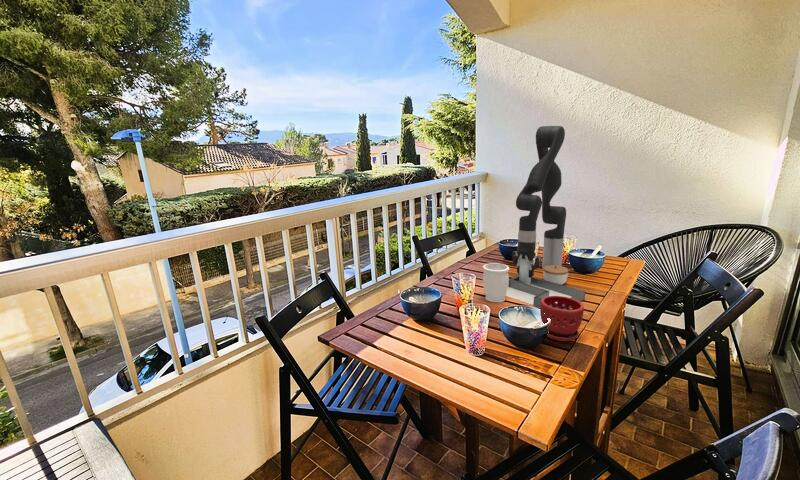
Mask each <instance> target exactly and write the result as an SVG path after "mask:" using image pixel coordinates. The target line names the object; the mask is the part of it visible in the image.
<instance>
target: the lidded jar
mask: <svg viewBox="0 0 800 480" xmlns="http://www.w3.org/2000/svg"><path fill="white" fill-rule="evenodd" d="M542 275H543V280H546V281H550V282H554V283H557V284H561V285H564V284H565V283H566V281H567V280H568V276H569V268H568V267H565V266H558V265H548V266H544V267H543V268H542Z"/></svg>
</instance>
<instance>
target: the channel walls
mask: <svg viewBox="0 0 800 480" xmlns="http://www.w3.org/2000/svg"><path fill="white" fill-rule="evenodd" d="M531 284H532V285H535V286H538V287H542V288H545V289H549V290H552V291H555V292H559V293H562V294H565V295H569V296H572V297H571V298H572V299H575V300H577V301H579V302H581V303H582V302H583V301H584V300H586V299H585V298H586V291H585V290H583V289H579V288H576V287H571V286H568V285H564V284H562V285H561V284H557V283H554V282H550V281H546V280H544V278H543V279H542V278H538V277H536V276H533V277H531ZM508 287H510V288H514V289H517V290H520V291H523V292H526V293H529V294H532V295H535V297H534V303H533V305H532V306H534V305H535V307H537V306H538V308H540V307H541V300H542V299H543V298H544V297H547V296H549V291H548V290H544V289H541V288H538V287H534V286H531V285H528V284H524V283H521V282H519V275H517V276H515V277H512V278H509V285H508ZM582 300H583V301H582ZM555 304H557V303H555ZM550 306H551V307H552V304H550ZM562 306H565V304H562ZM555 308H557V309H560V308H559V307H555ZM569 309H572V307H571V306H569ZM563 310H567V309H565V308H564V309H563Z"/></svg>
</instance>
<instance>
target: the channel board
mask: <svg viewBox="0 0 800 480" xmlns="http://www.w3.org/2000/svg"><path fill="white" fill-rule="evenodd" d="M530 285H531V286H534V287H538V286H535V285H532V284H530ZM538 288H541V289H544V290H548V291H549V296H563V297H568V298H571V297H572V296H569V295H565V294H562V293H559V292H555V291H552V290H549V289H545V288H542V287H538ZM505 297H509V298H512V299H514V300H517V301H520V302H523V303H525V304H529V305H532V306H535V305H533V303H534V297H535V295H532V294H529V293H526V292H523V291H520V290H517V289H514V288H510V287H509V286H508V289H507V293H506V295H505ZM583 301H584V300H582V301H581V302H583ZM555 303H557V302H555ZM535 307H538V306H535ZM538 308H539V307H538Z"/></svg>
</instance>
